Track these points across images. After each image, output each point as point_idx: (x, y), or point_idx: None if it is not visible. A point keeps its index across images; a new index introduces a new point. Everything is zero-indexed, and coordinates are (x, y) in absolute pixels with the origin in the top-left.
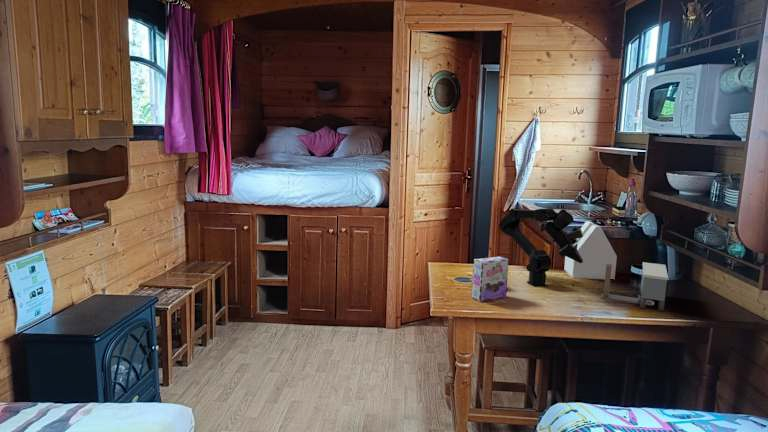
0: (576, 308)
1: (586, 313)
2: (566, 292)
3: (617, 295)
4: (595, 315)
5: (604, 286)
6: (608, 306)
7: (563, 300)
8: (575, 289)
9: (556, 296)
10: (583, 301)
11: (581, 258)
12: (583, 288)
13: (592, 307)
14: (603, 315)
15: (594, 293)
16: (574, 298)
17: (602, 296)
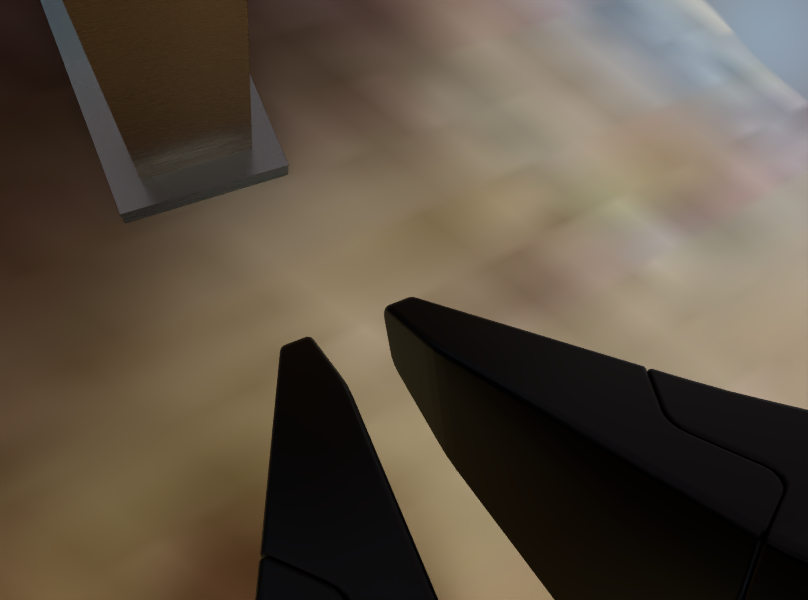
0: (733, 206)
1: (756, 107)
2: None
3: (72, 54)
4: (733, 47)
5: (247, 75)
6: (457, 42)
7: None
8: (166, 541)
9: None
10: (522, 248)
11: (331, 377)
12: (19, 499)
13: (599, 126)
14: (684, 8)
15: (141, 295)
16: None
17: (261, 152)
